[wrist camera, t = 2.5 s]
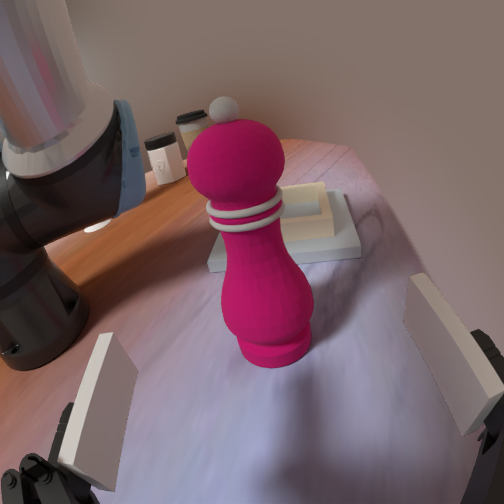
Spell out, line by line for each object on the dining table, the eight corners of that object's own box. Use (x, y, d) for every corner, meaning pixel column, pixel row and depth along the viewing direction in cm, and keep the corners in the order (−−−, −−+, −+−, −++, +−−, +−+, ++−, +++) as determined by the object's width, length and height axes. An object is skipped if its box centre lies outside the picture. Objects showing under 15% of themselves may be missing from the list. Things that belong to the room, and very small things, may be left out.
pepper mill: (228, 327, 30) (162, 110, 20) (299, 304, 31) (262, 86, 21) (246, 385, 24) (159, 116, 14) (330, 354, 24) (301, 84, 14)
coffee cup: (213, 154, 96) (202, 109, 88) (221, 158, 88) (209, 108, 81) (184, 163, 94) (172, 117, 86) (190, 168, 86) (176, 118, 78)
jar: (150, 187, 78) (137, 144, 72) (161, 177, 85) (150, 137, 79) (181, 181, 77) (169, 135, 71) (191, 171, 84) (179, 129, 78)
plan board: (210, 272, 39) (201, 244, 37) (234, 210, 54) (228, 188, 52) (361, 257, 35) (360, 226, 33) (341, 196, 50) (339, 173, 48)
